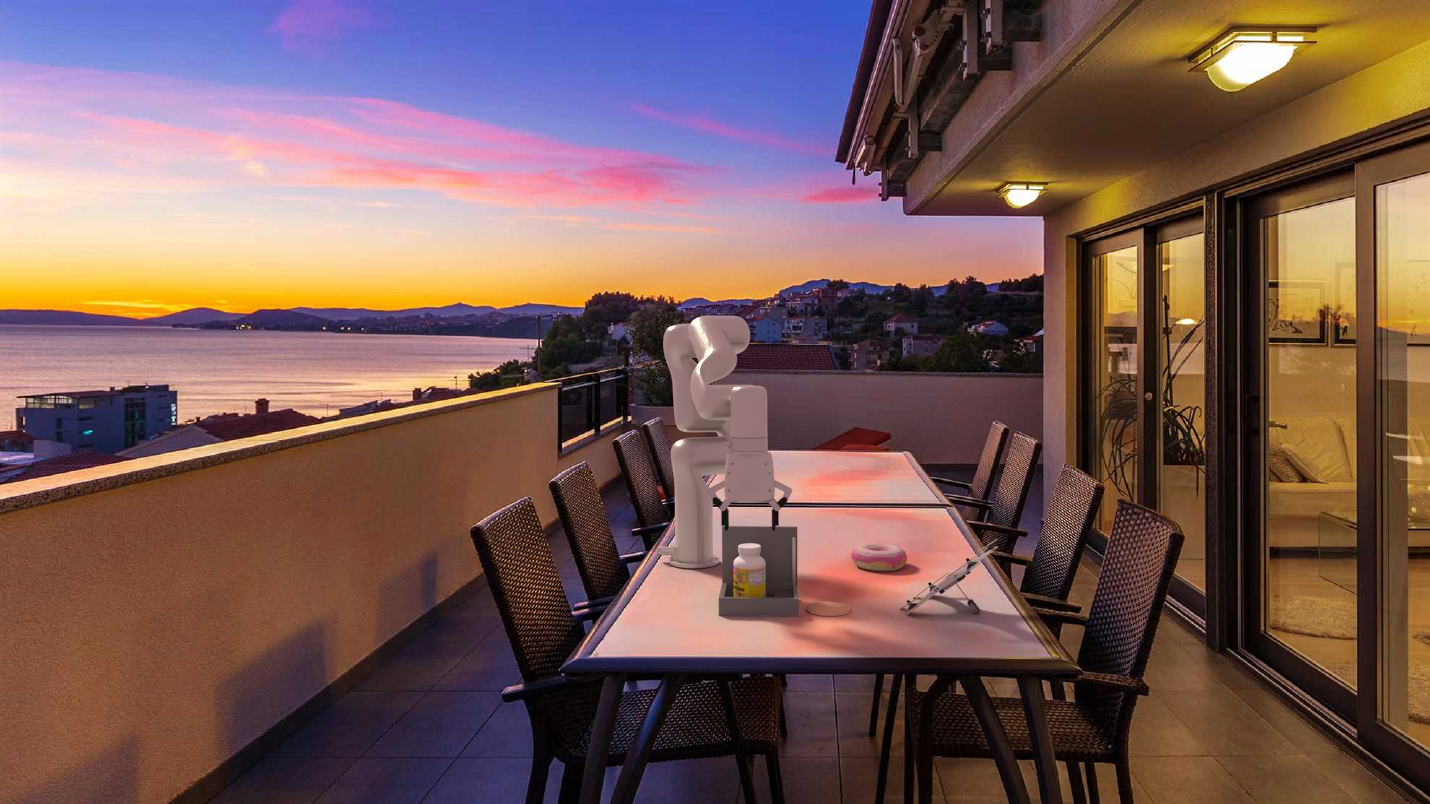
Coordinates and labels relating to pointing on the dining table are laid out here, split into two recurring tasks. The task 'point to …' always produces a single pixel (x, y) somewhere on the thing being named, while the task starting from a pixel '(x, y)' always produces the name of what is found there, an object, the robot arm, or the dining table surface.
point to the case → (779, 571)
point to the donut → (879, 557)
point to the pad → (828, 608)
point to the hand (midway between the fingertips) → (750, 529)
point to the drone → (953, 581)
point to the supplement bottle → (749, 572)
